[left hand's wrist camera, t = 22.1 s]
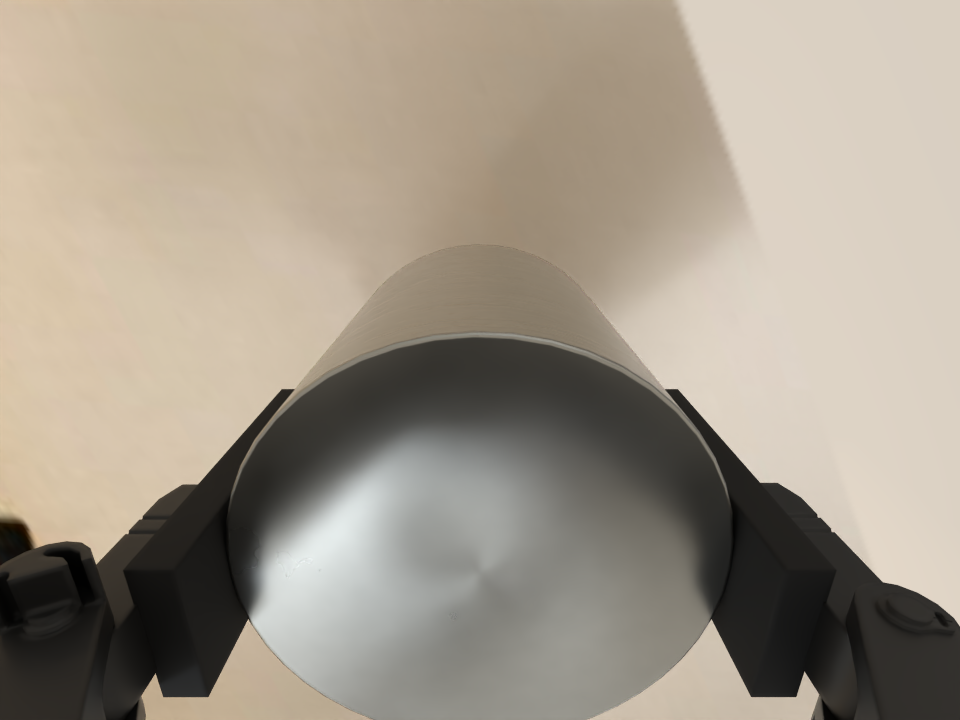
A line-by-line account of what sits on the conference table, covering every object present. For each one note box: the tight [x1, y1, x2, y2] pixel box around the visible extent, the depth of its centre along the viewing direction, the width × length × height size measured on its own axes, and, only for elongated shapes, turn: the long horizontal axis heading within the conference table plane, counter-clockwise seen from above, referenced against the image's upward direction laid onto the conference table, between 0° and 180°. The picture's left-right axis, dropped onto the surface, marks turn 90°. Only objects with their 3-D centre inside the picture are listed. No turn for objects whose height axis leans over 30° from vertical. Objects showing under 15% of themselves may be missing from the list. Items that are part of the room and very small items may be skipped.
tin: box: [226, 245, 734, 720], centre depth 13 cm, size 9×9×9 cm
